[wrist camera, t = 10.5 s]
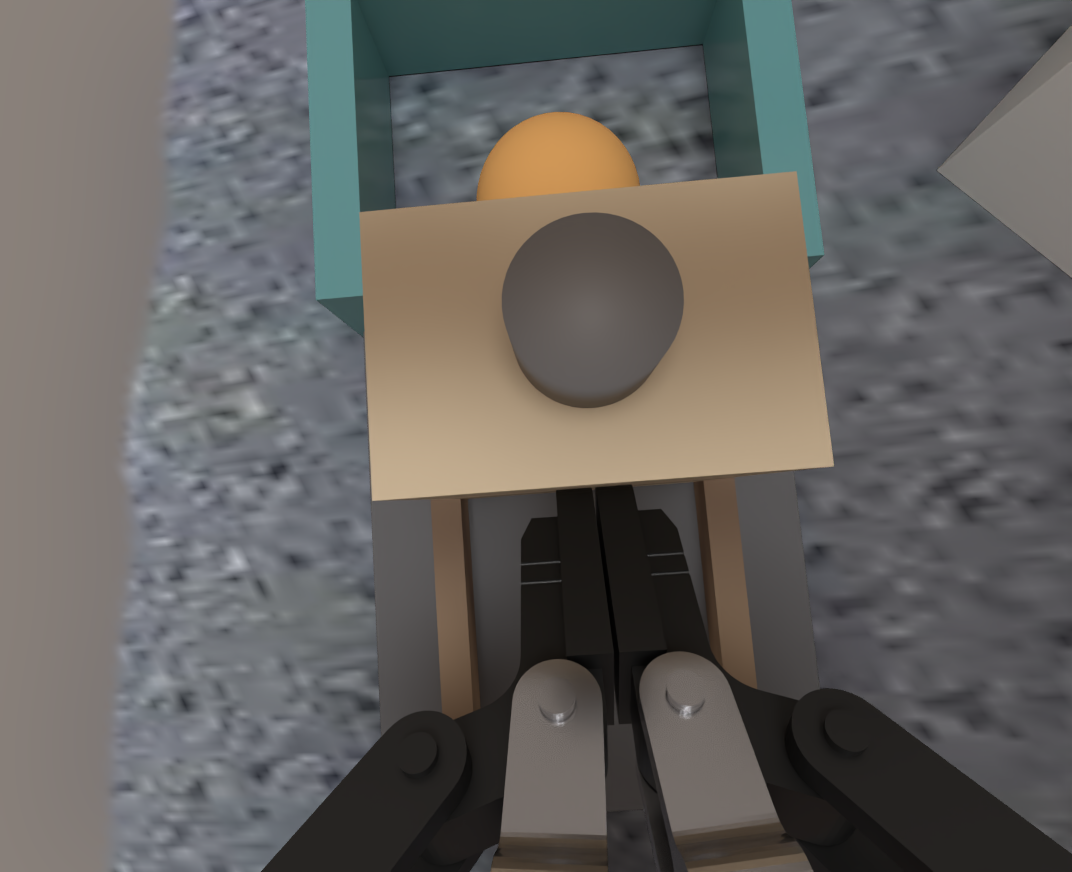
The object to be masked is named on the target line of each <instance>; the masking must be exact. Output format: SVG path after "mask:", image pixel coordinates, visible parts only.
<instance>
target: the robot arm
mask: <svg viewBox="0 0 1072 872" xmlns="http://www.w3.org/2000/svg"><path fill="white" fill-rule="evenodd" d="M556 500H557V516H556V517H542V518H531V520H530V522H529V524H528V526H527V528H526V530H525V532H524V534H523V536H522V538H521V658H520V666H519V670H518V673H517V675H516V678H515V680H514V681H513V683H512V684H511V686H510V687H509V688H508V690H507V691H506V692H505V693H504V694H503V695H502V696H501V697H500V698H498V699H497V700H496V701H494V702H493V703H491V704H489V705H487V706H485V707H483V708H480V709H478V710H476V711H473V712H471V713H468V714H466V715H464V716H461V717H459V718H456V719H454V720H453V719H452V718H450V717H449V716H447V715H446V714H443V713H441V712H437V711H419V712H415V713H412V714H409V715H407V716H405V717H403V718H401V719H400V720H398V721H397V722H396V723H394V724H393V725H392V726H391V727H390V728H389V729H388V730H387V731H386V732H385V733H384V734H383V736H382V737H381V738H380V739H379V740H378V741H377V742H376V743H375V745H374V746H373V747H372V748H371V749H370V750H369V751H368V752H367V753H366V755H365V756H364V757H363V758H362V759H361V760H360V761H359V762H358V764H357V765H356V766H355V767H354V768H353V769H352V770H351V771H350V772H349V774H348V775H347V776H346V777H345V778H344V779H343V780H342V781H341V783H340V784H339V785H338V786H337V787H336V788H335V789H334V790H333V792H332V793H331V794H330V795H329V796H328V797H327V798H326V799H325V800H324V802H323V803H322V804H321V805H320V806H319V807H318V808H317V809H316V811H315V812H314V813H313V814H312V815H311V816H310V817H309V818H308V820H307V821H306V822H305V823H304V824H303V825H302V826H301V827H300V828H299V830H298V831H297V832H296V833H295V834H294V835H293V836H292V837H291V839H290V840H289V841H288V842H287V843H286V844H285V845H284V846H283V847H282V849H281V850H280V851H279V852H278V853H277V854H276V855H275V856H274V858H273V859H272V860H271V861H270V862H269V863H268V864H267V865H266V867H265V868H264V869H263V870H262V871H261V872H470V870H471V869H472V867H473V866H474V864H475V863H476V862H477V860H478V859H479V857H480V856H481V854H482V853H483V851H484V850H485V849H487V848H489V847H491V846H493V845H496V844H498V843H499V846H498V849H497V851H496V852H495V855H494V858H493V861H492V866H491V872H608V854H607V824H606V794H605V779H606V776H607V772H608V732H607V725H614V690H615V698H616V706H617V714H618V722H619V724H632V729H633V736H634V743H635V750H636V775H637V780H638V784H639V789H640V794H641V799H642V804H643V808H644V813H645V818H646V823H647V827H648V832H649V837H650V842H651V846H652V851H653V856H654V861H655V865H656V870H657V872H1072V854H1071V853H1070V852H1068V851H1067V850H1066V849H1064V848H1063V847H1062V846H1060V845H1059V844H1058V843H1056V842H1055V841H1053V840H1052V839H1051V838H1049V837H1048V836H1047V835H1045V834H1044V833H1043V832H1041V831H1040V830H1039V829H1037V828H1036V827H1035V826H1033V825H1032V824H1031V823H1029V822H1028V821H1027V820H1025V819H1024V818H1023V817H1021V816H1020V815H1019V814H1017V813H1016V812H1015V811H1013V810H1012V809H1011V808H1009V807H1008V806H1007V805H1005V804H1004V803H1002V802H1001V801H1000V800H998V799H997V798H996V797H994V796H993V795H992V794H990V793H989V792H988V791H986V790H985V789H984V788H982V787H981V786H980V785H978V784H977V783H976V782H974V781H973V780H972V779H970V778H969V777H968V776H966V775H965V774H964V773H962V772H961V771H960V770H958V769H957V768H956V767H954V766H953V765H951V764H950V763H949V762H947V761H946V760H945V759H943V758H942V757H941V756H939V755H938V754H937V753H935V752H934V751H933V750H931V749H930V748H929V747H927V746H926V745H925V744H923V743H922V742H921V741H919V740H918V739H917V738H915V737H914V736H913V735H911V734H910V733H909V732H907V731H906V730H905V729H903V728H902V727H900V726H899V725H898V724H896V723H895V722H894V721H892V720H891V719H890V718H888V717H887V716H886V715H884V714H883V713H882V712H880V711H879V710H878V709H876V708H875V707H874V706H872V705H871V704H870V703H868V702H867V701H865V700H863V699H862V698H860V697H858V696H856V695H854V694H852V693H849V692H846V691H843V690H838V689H828V688H825V689H818V690H814V691H811V692H809V693H808V694H806V695H804V696H803V697H802V698H801V699H800V700H796V699H793V698H789V697H785V696H781V695H777V694H773V693H769V692H765V691H762V690H758V689H755V688H752V687H750V686H748V685H745V684H743V683H742V682H740V681H738V680H737V679H735V678H734V677H732V676H731V675H730V674H729V673H728V672H726V670H725V669H724V668H723V667H722V666H721V665H720V664H719V662H718V661H717V660H716V658H715V656H714V655H713V653H712V651H711V648H710V645H709V642H708V638H707V634H706V631H705V627H704V623H703V620H702V616H701V612H700V609H699V605H698V601H697V598H696V594H695V591H694V587H693V583H692V580H691V576H690V575H689V569H688V565H687V561H686V558H685V556H684V550H683V547H682V543H681V539H680V536H679V532H678V528H677V527H676V526H675V525H674V523H673V522H672V521H671V520H670V519H669V517H668V516H667V515H666V514H665V513H664V511H663V510H662V509H650V510H638V508H637V504H636V499H635V494H634V490H633V486H632V485H618V486H605V487H595V506H594V498H593V491H592V488H578V489H565V490H556ZM595 507H596V514H595Z"/></svg>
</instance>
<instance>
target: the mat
mask: <svg viewBox="0 0 1072 872" xmlns="http://www.w3.org/2000/svg"><path fill="white" fill-rule="evenodd" d="M363 336H364V359H365V382H366V404H367V427H368V449H369V472H370V494H371V517H372V539H373V562H374V585H375V607H376V630H377V652H378V675H379V697H380V720H381V737H382V736H383V734H384V733H385V732H386V731H387V730H388V729H389V728H390V727H391V726H392V725H393V724H394V723H396V722H397V721H398V720H400V719H401V718H403V717H405V716H407V715H409V714H412V713H415V712H419V711H437V712H441V713H442V700H441V682H440V663H439V645H438V627H437V609H436V591H435V572H434V554H433V536H432V518H431V499H430V500H391V501H372V486H371V464H370V441H369V419H368V397H367V374H366V352H365V331H364V332H363ZM734 479H735V488H736V497H737V507H738V516H739V525H740V534H741V543H742V552H743V562H744V571H745V580H746V589H747V598H748V607H749V617H750V626H751V635H752V644H753V653H754V663H755V672H756V681H757V689H758V690H762V691H765V692H769V693H773V694H777V695H781V696H785V697H789V698H793V699H796V700H800V699H801V698H802V697H803V696H804V695H806V694H808V693H809V692H811V691H814V690H818V689H820V685H819V677H818V669H817V660H816V652H815V643H814V635H813V627H812V618H811V610H810V602H809V593H808V585H807V577H806V568H805V560H804V551H803V543H802V535H801V526H800V518H799V510H798V501H797V493H796V485H795V476H794V471H787V472H778V473H769V474H760V475H751V476H742V477H734ZM633 490H634V494H635V499H636V504H637V508H638V510H650V509H662V510H663V511H664V513H665V514H666V515H667V516H668V517H669V519H670V520H671V521H672V522H673V523H674V525H675V526H676V527H677V528H678V532H679V536H680V539H681V543H682V547H683V550H684V556H685V558H686V561H687V565H688V569H689V575H690V576H691V580H692V583H693V587H694V591H695V594H696V598H697V601H698V605H699V609H700V612H701V616H702V620H703V623H704V627H705V631H706V634H707V638H708V642H709V645H710V640H709V630H708V620H707V611H706V601H705V591H704V581H703V571H702V561H701V552H700V542H699V532H698V522H697V512H696V502H695V493H694V483H693V482H687V483H674V484H660V485H647V486H633ZM592 491H593V498H594V506H595V489H593V490H592ZM468 512H469V528H470V544H471V560H472V577H473V593H474V609H475V625H476V642H477V658H478V674H479V691H480V707H481V708H483V707H485V706H487V705H489V704H491V703H493V702H494V701H496V700H497V699H498V698H500V697H501V696H502V695H503V694H504V693H505V692H506V691H507V690H508V688H509V687H510V686H511V684H512V683H513V681H514V680H515V678H516V675H517V673H518V670H519V666H520V658H521V538H522V536H523V534H524V532H525V530H526V528H527V526H528V524H529V522H530V520H531V518H542V517H556V516H557V500H556V492H553V493H540V494H526V495H513V496H499V497H486V498H469V499H468ZM595 514H596V507H595ZM607 732H608V772H607V776H606V779H605V794H606V812H610V811H629V810H644V808H643V804H642V799H641V794H640V789H639V784H638V780H637V775H636V750H635V743H634V736H633V729H632V724H619V722H618V714H617V706H616V698H615V690H614V725H607Z"/></svg>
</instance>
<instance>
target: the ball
mask: <svg viewBox="0 0 1072 872" xmlns="http://www.w3.org/2000/svg"><path fill="white" fill-rule="evenodd" d="M633 186H640V183H639V177H638V174H637V171H636V167H635V165H634V163H633V160H632V158H631V156H630V154H629V153H628V151H627V149H626V148H625V146H624V145H623V144H622V142H621V141H620V140H619V139H618V138H617V137H616V136H615V135H614V134H613V133H612V132H611V131H610V130H609V129H608V128H606V127H605V126H603V125H602V124H600V123H599V122H597V121H595V120H593V119H591V118H589V117H586V116H583V115H580V114H575V113H569V112H552V113H544V114H541V115H537V116H534V117H531V118H529V119H527V120H525V121H523V122H521V123H519V124H518V125H516V126H515V127H513V128H512V129H511V130H509V131H508V132H507V133H506V134H505V135H504V136H503V137H502V138H501V139H500V140H499V141H498V142H497V144H496V145H495V146H494V148H493V149H492V151H491V152H490V154H489V156H488V158H487V160H486V161H485V163H484V166H483V169H482V172H481V174H480V179H479V183H478V189H477V201H484V200H495V199H505V198H516V197H527V196H537V195H548V194H559V193H569V192H580V191H591V190H601V189H612V188H623V187H633Z"/></svg>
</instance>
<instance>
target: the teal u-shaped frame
mask: <svg viewBox="0 0 1072 872" xmlns="http://www.w3.org/2000/svg"><path fill="white" fill-rule="evenodd" d="M305 9H306V36H307V64H308V92H309V120H310V148H311V176H312V203H313V231H314V259H315V287H316V300H317V301H318V302H319V303H321V304H322V305H323V306H324V307H326V308H327V309H328V310H329V311H331V312H332V313H333V314H335V315H336V316H337V317H338V318H340V319H341V320H342V321H343V322H345V323H346V324H347V325H348V326H350V327H351V328H352V329H353V330H355V331H356V332H357V333H358V334H360V335H361V336H362V337H363V338H364V336H363V332H364V331H365V329H364V307H363V284H362V262H361V240H360V217H359V212H366V211H377V210H388V209H396V205H395V185H394V166H393V146H392V127H391V108H390V88H389V76H395V75H405V74H415V73H425V72H435V71H444V70H454V69H464V68H474V67H484V66H493V65H503V64H513V63H523V62H532V61H542V60H552V59H562V58H572V57H581V56H591V55H601V54H611V53H621V52H630V51H640V50H650V49H660V48H669V47H679V46H689V45H699V44H703V50H704V59H705V68H706V77H707V86H708V95H709V104H710V113H711V122H712V131H713V140H714V149H715V157H716V166H717V175H718V179H719V178H730V177H740V176H751V175H762V174H772V173H783V172H794V171H797V178H798V186H799V194H800V202H801V210H802V218H803V226H804V234H805V241H806V249H807V257H808V265H809V269H810V268H811V267H812V266H813V265H814V264H815V263H816V262H817V261H818V260H819V259H820V258H821V257H823V256H824V249H823V241H822V233H821V226H820V218H819V210H818V203H817V195H816V187H815V179H814V172H813V164H812V156H811V149H810V141H809V133H808V126H807V118H806V110H805V103H804V95H803V87H802V80H801V72H800V64H799V56H798V49H797V41H796V33H795V26H794V18H793V10H792V3H791V0H305Z"/></svg>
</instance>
